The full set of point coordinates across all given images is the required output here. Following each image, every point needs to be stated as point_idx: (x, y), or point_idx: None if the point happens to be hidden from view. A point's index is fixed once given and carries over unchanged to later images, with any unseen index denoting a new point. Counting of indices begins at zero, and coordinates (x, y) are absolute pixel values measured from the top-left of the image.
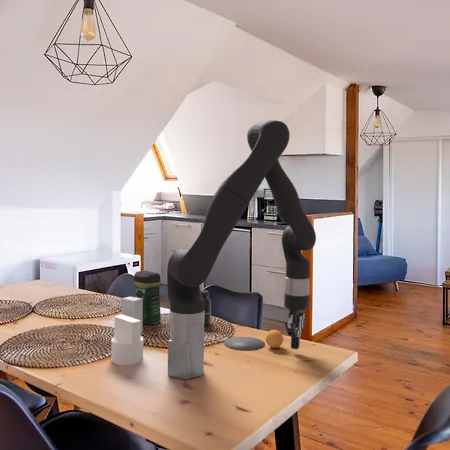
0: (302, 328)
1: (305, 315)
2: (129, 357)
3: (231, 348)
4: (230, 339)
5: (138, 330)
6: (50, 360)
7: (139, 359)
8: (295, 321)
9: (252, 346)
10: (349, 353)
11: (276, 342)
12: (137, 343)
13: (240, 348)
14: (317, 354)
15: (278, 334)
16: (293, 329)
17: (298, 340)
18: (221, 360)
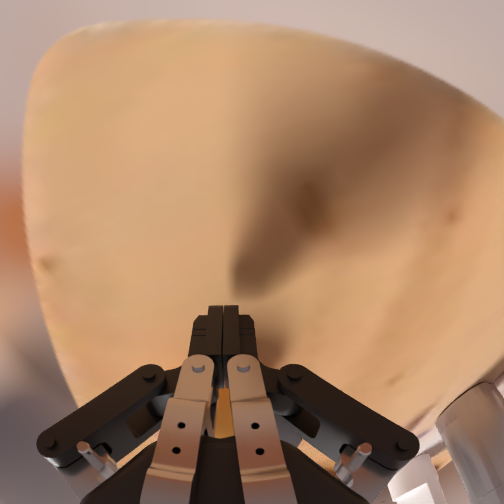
0: (143, 388)
1: (55, 454)
2: (431, 462)
3: (297, 444)
4: None
5: (437, 495)
6: None
7: (419, 459)
8: (334, 478)
9: None
10: (62, 51)
11: None
12: (431, 478)
13: (292, 435)
14: (170, 190)
15: (219, 428)
16: (379, 415)
17: (230, 337)
18: (396, 415)
